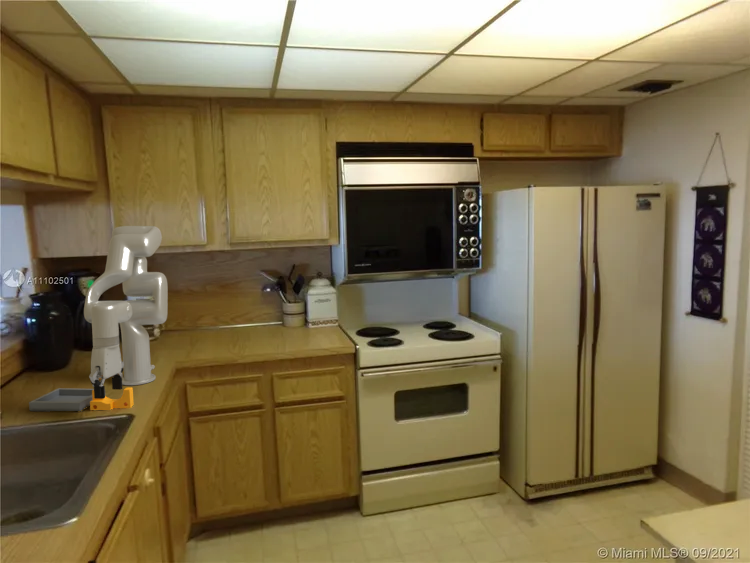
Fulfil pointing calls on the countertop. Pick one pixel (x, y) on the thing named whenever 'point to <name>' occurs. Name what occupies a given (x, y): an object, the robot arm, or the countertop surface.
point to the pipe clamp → (113, 401)
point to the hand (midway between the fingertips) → (108, 393)
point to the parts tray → (63, 400)
